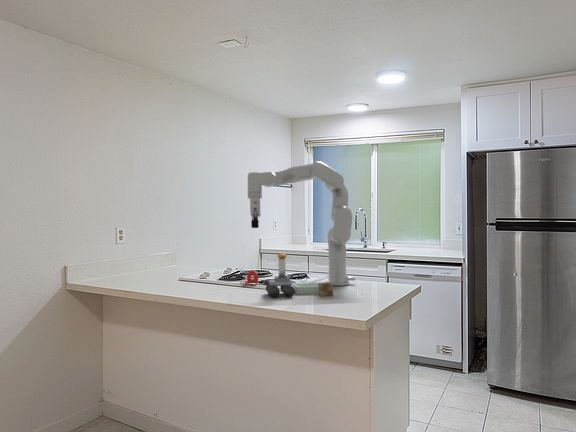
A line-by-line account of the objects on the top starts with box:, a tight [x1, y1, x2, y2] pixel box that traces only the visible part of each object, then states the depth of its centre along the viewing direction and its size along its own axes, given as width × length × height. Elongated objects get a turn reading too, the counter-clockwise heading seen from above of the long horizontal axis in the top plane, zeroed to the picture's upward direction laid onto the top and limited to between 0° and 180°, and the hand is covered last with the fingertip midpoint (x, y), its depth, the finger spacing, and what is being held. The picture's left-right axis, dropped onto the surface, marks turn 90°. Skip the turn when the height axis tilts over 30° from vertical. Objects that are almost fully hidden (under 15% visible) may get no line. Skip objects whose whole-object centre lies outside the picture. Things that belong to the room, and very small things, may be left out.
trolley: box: [265, 275, 296, 299], centre depth 209 cm, size 12×12×8 cm
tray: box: [292, 282, 320, 295], centre depth 219 cm, size 16×13×4 cm
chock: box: [318, 281, 334, 298], centre depth 208 cm, size 6×4×6 cm, turn 97°
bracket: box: [241, 269, 259, 283], centre depth 247 cm, size 12×4×8 cm, turn 57°
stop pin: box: [277, 253, 287, 278], centre depth 209 cm, size 4×4×12 cm
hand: (254, 227), depth 238 cm, fingers open, 9 cm apart
